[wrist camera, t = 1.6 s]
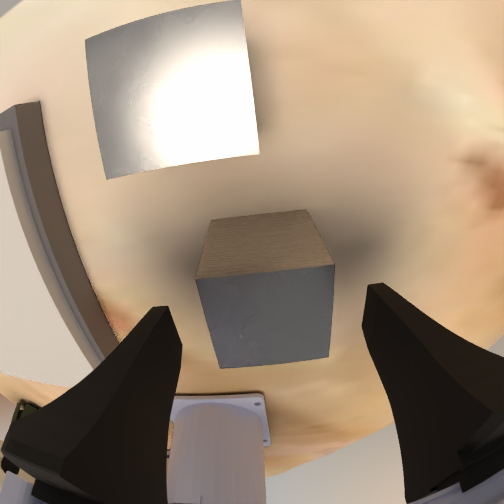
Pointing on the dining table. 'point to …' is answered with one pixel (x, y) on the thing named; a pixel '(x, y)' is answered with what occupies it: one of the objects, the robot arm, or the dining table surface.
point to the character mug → (3, 464)
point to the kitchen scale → (42, 267)
